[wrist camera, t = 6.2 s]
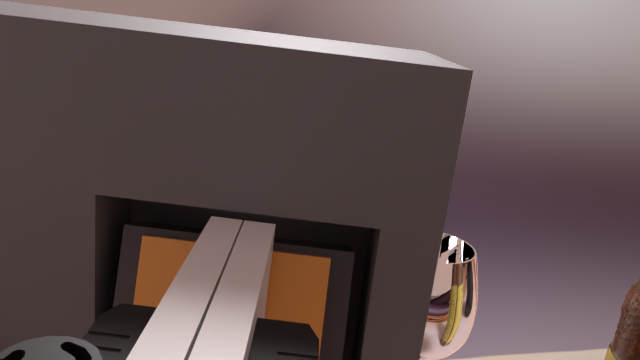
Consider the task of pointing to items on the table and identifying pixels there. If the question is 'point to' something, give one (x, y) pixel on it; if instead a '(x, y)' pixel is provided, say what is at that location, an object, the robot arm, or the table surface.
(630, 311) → the sauce bottle
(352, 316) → the block
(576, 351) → the table surface
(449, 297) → the wineglass
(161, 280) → the panel
